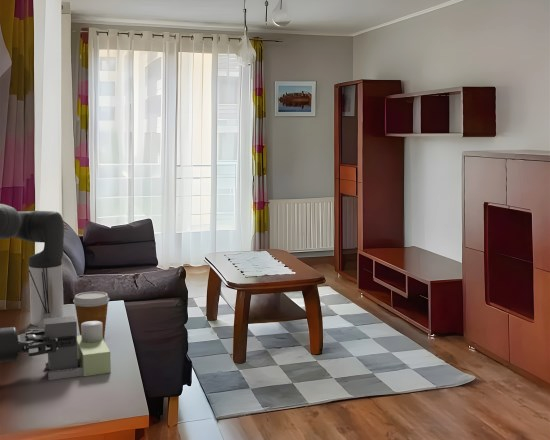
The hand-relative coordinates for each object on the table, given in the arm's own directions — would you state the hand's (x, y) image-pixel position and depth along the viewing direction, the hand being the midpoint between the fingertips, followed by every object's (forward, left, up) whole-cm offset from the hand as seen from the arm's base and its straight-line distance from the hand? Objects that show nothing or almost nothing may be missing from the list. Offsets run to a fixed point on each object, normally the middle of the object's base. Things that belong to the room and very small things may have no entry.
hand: (74, 337), depth 145 cm
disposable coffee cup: (-24, +7, -8) cm, 26 cm away
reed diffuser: (-28, -5, -8) cm, 30 cm away
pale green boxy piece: (-3, +1, -8) cm, 8 cm away
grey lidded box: (0, -3, -7) cm, 7 cm away
